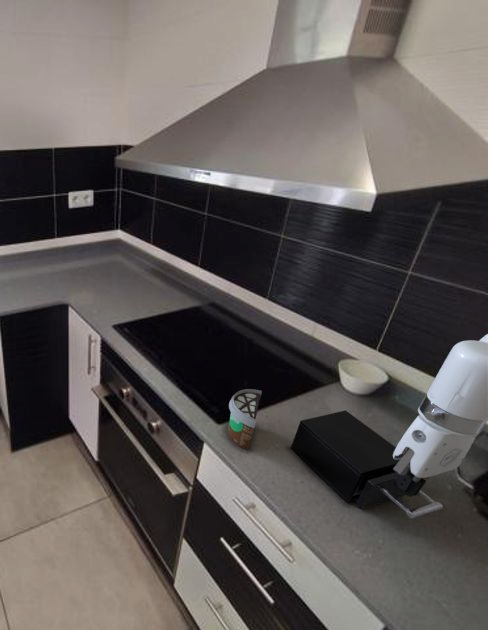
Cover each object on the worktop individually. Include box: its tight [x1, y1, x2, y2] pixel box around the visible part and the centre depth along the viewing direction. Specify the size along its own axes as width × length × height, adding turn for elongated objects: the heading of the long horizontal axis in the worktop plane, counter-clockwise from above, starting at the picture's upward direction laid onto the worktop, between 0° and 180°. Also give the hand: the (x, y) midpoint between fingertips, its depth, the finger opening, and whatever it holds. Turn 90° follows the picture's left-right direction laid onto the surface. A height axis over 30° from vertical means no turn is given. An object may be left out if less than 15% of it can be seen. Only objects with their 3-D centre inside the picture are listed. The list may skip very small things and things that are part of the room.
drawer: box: [353, 466, 444, 520], centre depth 76 cm, size 20×11×7 cm, turn 15°
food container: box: [227, 388, 263, 451], centre depth 90 cm, size 12×6×10 cm, turn 150°
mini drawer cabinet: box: [290, 410, 400, 504], centre depth 81 cm, size 15×13×9 cm
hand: (404, 489), depth 70 cm, fingers closed
